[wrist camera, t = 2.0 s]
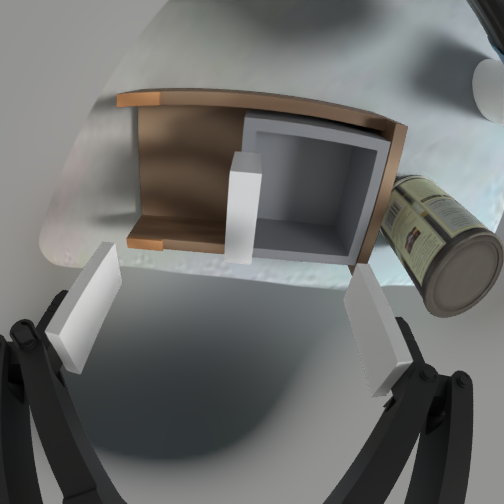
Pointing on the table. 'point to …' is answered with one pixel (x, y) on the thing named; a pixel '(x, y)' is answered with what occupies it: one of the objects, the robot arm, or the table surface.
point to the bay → (220, 161)
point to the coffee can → (441, 246)
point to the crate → (302, 188)
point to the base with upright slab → (489, 89)
